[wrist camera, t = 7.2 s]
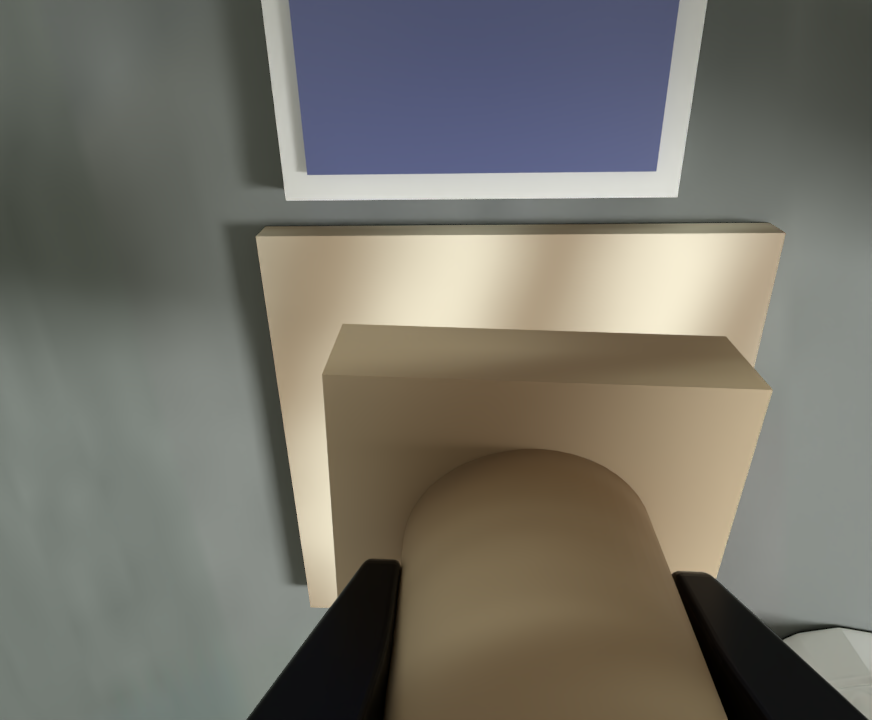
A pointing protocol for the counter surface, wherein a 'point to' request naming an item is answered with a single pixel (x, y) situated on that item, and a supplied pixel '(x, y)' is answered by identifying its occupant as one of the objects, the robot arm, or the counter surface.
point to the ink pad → (482, 97)
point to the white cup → (840, 661)
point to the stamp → (539, 511)
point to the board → (489, 306)
